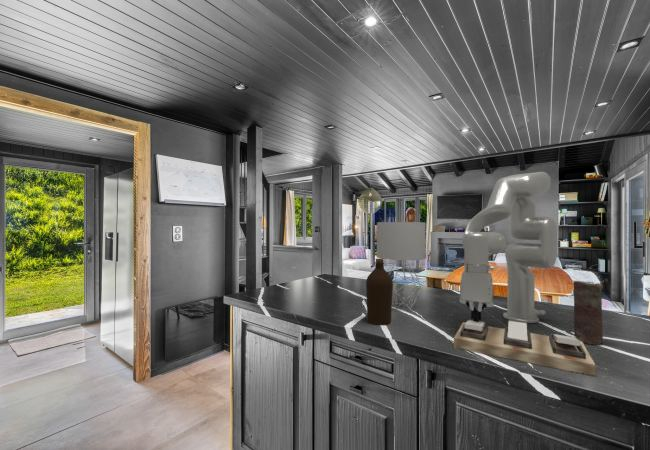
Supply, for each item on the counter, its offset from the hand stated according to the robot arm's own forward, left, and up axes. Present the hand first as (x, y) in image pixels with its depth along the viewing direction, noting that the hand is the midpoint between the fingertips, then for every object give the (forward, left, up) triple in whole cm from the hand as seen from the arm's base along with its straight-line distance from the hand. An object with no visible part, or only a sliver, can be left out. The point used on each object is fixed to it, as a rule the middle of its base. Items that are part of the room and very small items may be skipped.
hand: (476, 321), depth 107 cm
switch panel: (-7, +11, -5) cm, 14 cm away
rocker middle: (-7, +11, -1) cm, 13 cm away
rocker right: (-16, +18, -1) cm, 25 cm away
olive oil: (+29, -19, -6) cm, 35 cm away
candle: (-36, +6, -6) cm, 37 cm away
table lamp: (+13, -41, -6) cm, 43 cm away
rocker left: (+3, +4, -1) cm, 5 cm away
